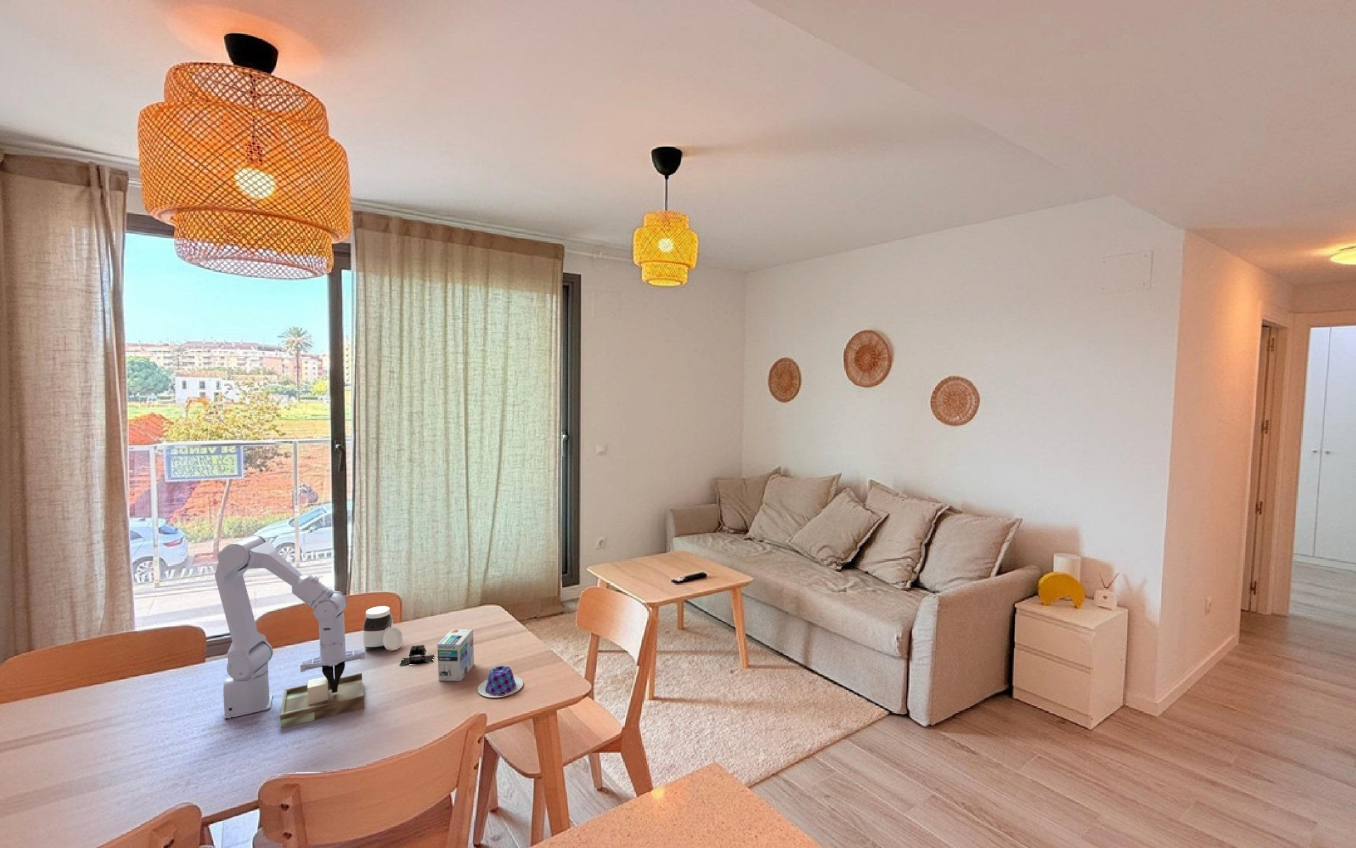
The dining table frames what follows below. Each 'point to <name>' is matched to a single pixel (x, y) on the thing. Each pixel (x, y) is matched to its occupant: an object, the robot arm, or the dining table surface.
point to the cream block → (317, 690)
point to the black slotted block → (417, 659)
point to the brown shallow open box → (337, 703)
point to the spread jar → (381, 630)
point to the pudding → (500, 682)
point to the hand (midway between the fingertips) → (334, 691)
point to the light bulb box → (455, 655)
